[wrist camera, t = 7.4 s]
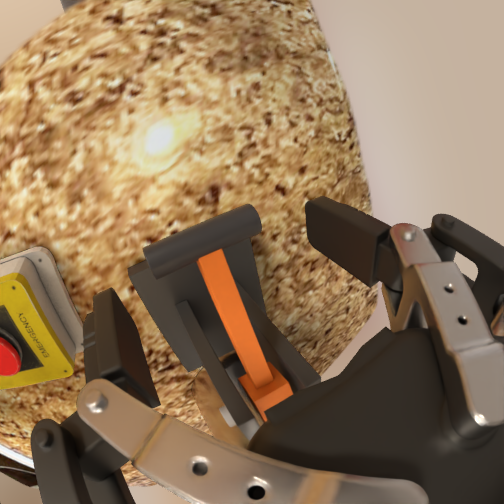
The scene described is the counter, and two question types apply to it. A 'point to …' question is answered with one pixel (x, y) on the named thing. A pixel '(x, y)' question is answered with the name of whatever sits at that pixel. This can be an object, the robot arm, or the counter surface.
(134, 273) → the orange lever mount
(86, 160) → the counter surface
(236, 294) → the switch
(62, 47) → the counter surface
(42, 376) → the emergency button
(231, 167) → the counter surface
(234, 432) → the kettle
